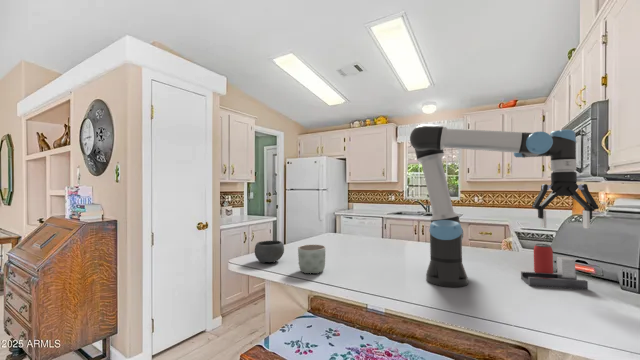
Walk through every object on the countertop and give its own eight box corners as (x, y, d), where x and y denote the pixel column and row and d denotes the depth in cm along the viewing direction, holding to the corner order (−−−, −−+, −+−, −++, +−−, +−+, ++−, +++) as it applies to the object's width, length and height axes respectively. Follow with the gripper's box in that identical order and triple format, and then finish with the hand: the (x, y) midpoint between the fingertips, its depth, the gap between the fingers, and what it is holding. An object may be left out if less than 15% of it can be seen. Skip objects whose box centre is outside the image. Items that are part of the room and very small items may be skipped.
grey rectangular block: (562, 286, 110) (561, 259, 111) (557, 282, 114) (557, 256, 114) (575, 287, 109) (575, 259, 109) (570, 283, 113) (569, 257, 113)
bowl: (249, 265, 145) (249, 245, 146) (260, 258, 160) (260, 239, 160) (279, 266, 143) (278, 245, 143) (287, 259, 158) (287, 240, 158)
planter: (320, 276, 126) (320, 251, 126) (293, 274, 130) (293, 249, 130) (329, 268, 138) (328, 245, 138) (304, 266, 142) (304, 243, 142)
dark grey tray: (529, 286, 111) (529, 277, 111) (521, 278, 119) (520, 271, 120) (587, 289, 106) (587, 281, 107) (574, 282, 115) (574, 274, 115)
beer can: (556, 275, 123) (556, 246, 123) (538, 275, 124) (538, 246, 124) (548, 271, 129) (547, 243, 129) (531, 270, 131) (530, 243, 131)
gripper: (529, 171, 112) (530, 228, 112) (610, 170, 106) (612, 230, 105) (521, 172, 119) (522, 225, 119) (597, 171, 113) (598, 227, 112)
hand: (564, 227), depth 112 cm, fingers open, 13 cm apart
